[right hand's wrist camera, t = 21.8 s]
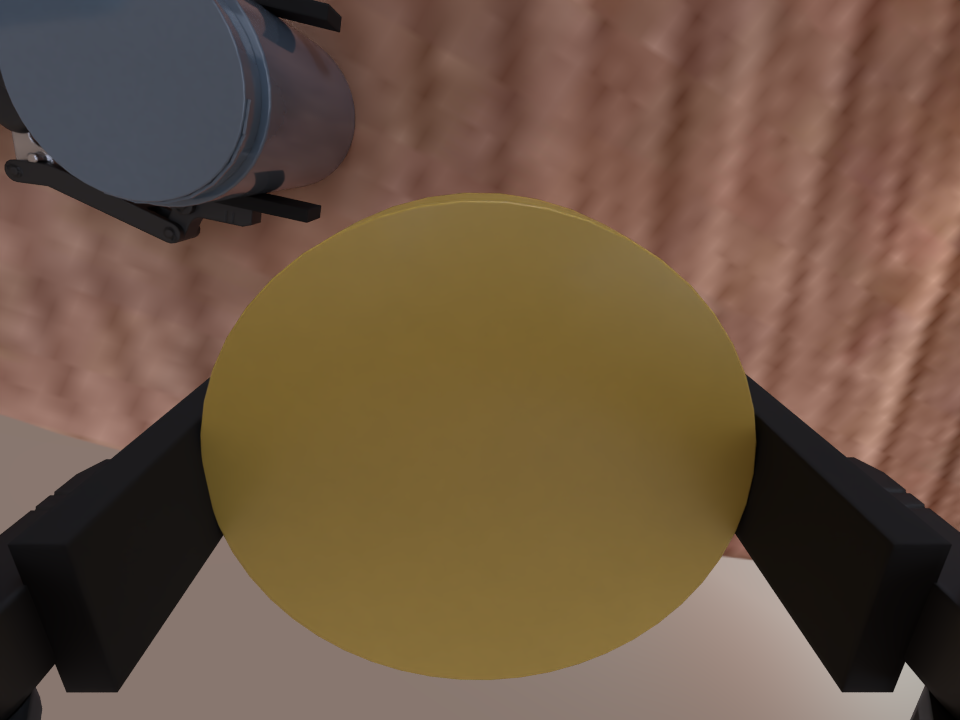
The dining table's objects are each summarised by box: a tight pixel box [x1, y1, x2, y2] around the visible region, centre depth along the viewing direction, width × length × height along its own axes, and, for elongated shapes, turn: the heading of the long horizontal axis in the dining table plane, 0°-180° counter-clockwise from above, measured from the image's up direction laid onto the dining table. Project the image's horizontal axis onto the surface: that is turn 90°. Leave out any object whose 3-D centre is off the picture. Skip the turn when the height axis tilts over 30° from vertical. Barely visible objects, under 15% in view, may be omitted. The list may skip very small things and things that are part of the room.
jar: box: [0, 0, 355, 207], centre depth 27 cm, size 10×10×17 cm
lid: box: [200, 193, 756, 680], centre depth 11 cm, size 11×11×2 cm
